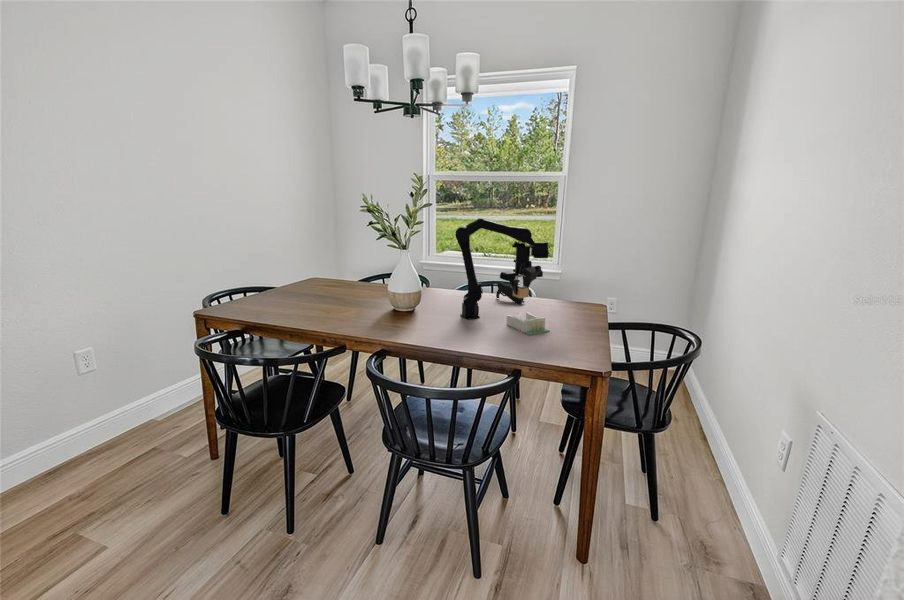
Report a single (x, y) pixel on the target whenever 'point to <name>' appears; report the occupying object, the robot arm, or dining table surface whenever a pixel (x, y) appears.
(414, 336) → the dining table surface
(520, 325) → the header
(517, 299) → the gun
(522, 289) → the orange base grey top
